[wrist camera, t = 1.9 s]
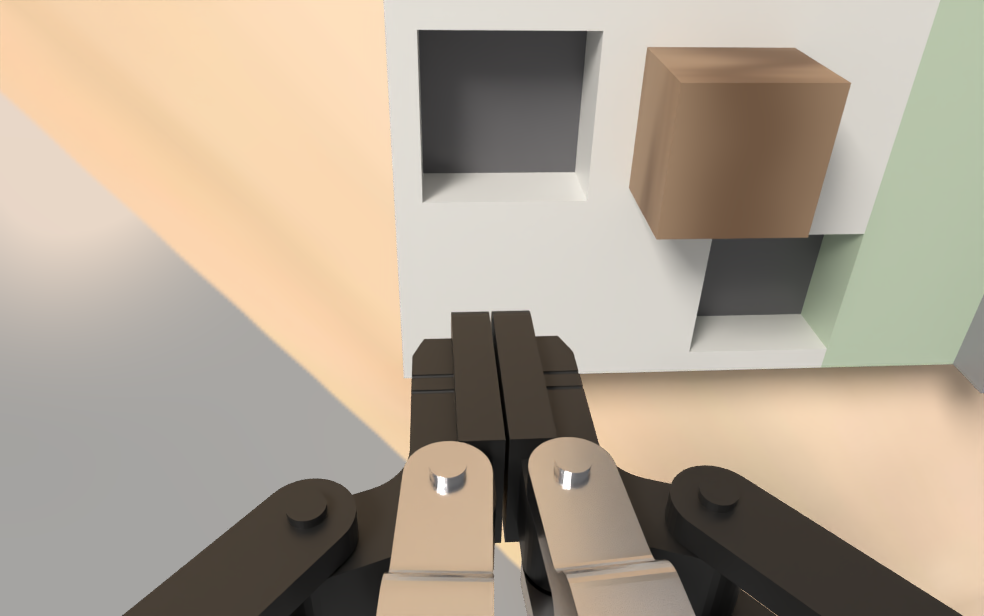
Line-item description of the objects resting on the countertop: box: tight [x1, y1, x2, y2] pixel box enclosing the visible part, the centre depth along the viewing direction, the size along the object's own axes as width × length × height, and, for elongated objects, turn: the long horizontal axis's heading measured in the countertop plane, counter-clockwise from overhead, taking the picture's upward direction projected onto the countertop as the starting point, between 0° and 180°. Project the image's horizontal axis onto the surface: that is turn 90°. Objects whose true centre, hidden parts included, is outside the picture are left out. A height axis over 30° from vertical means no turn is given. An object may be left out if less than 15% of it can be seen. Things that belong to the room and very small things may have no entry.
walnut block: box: [629, 47, 851, 240], centre depth 24 cm, size 5×5×4 cm
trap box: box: [384, 0, 984, 393], centre depth 28 cm, size 25×16×5 cm, turn 89°
